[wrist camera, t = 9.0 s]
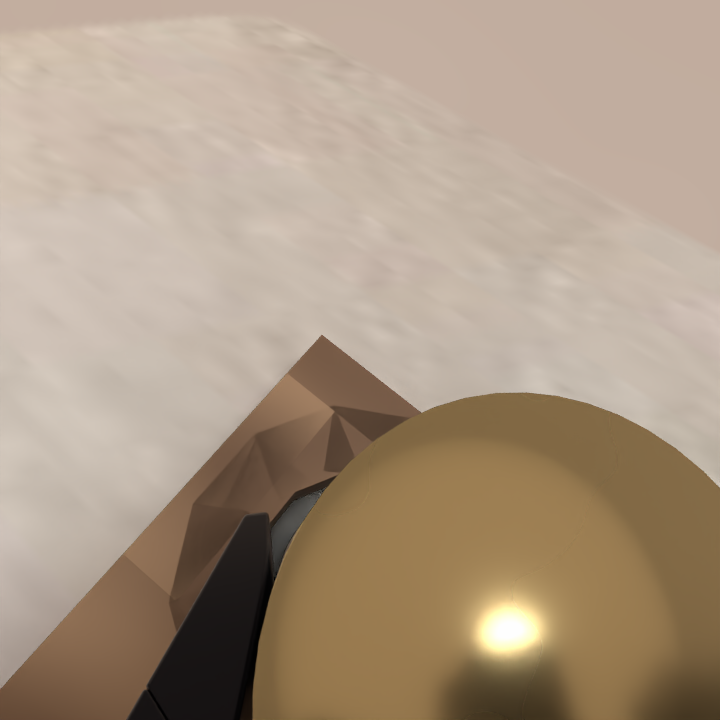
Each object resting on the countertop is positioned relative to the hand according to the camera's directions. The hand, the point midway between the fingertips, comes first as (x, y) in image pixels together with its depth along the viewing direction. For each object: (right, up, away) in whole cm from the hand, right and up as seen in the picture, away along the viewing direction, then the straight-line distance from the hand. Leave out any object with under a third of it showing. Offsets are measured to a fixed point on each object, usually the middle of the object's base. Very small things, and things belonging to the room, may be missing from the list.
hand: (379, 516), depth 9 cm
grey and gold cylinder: (-1, -4, +6) cm, 7 cm away
